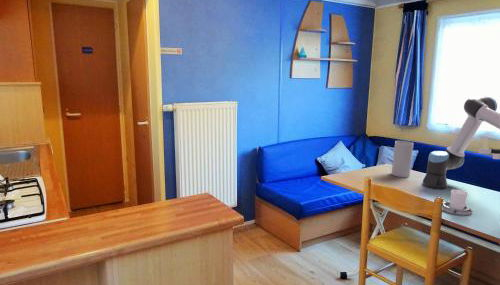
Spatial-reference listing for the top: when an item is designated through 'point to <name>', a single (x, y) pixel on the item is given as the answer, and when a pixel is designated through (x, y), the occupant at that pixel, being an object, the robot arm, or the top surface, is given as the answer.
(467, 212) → the rosette plate
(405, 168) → the cylinder vase
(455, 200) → the white cup
